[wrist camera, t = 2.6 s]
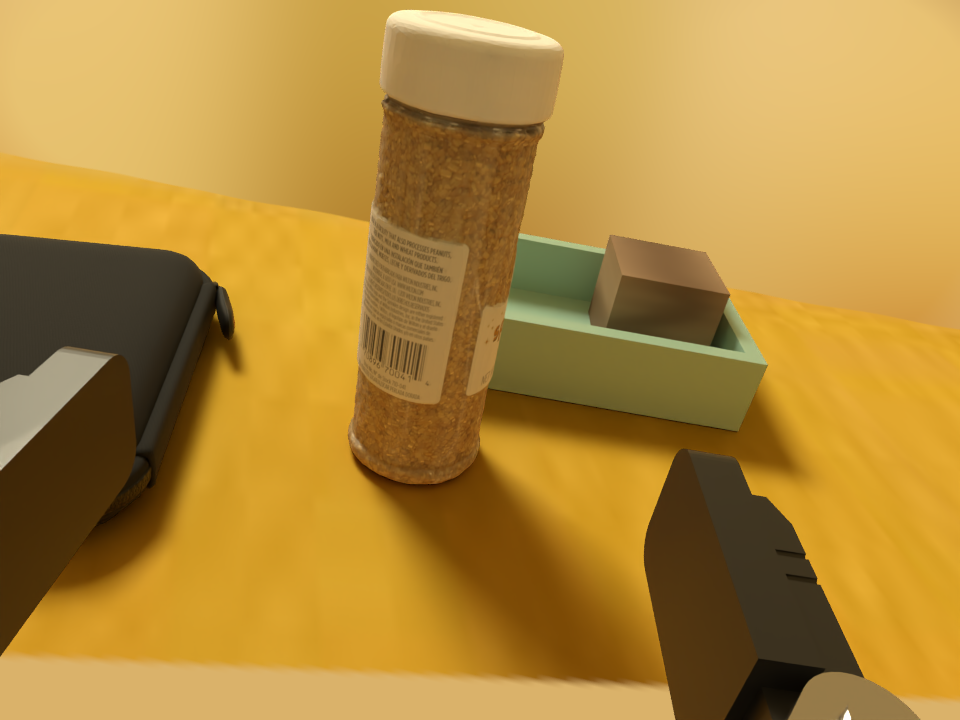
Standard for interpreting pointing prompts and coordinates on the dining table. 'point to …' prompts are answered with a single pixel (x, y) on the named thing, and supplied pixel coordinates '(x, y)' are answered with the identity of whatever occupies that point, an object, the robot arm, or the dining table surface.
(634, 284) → the copper block
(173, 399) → the carrying case or bag
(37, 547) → the robot arm
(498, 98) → the sprinkles bottle
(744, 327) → the tray
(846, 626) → the dining table surface
